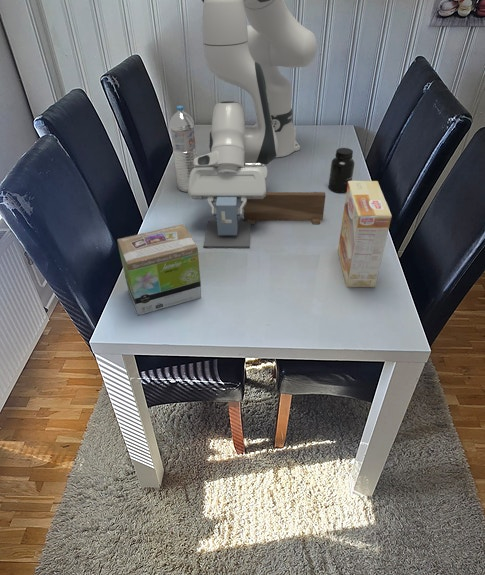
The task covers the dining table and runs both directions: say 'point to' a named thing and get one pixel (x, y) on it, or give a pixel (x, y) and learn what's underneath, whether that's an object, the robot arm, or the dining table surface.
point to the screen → (286, 207)
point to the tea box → (161, 268)
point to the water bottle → (183, 146)
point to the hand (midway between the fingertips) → (227, 215)
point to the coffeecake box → (363, 233)
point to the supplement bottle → (341, 170)
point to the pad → (227, 236)
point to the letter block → (227, 215)
